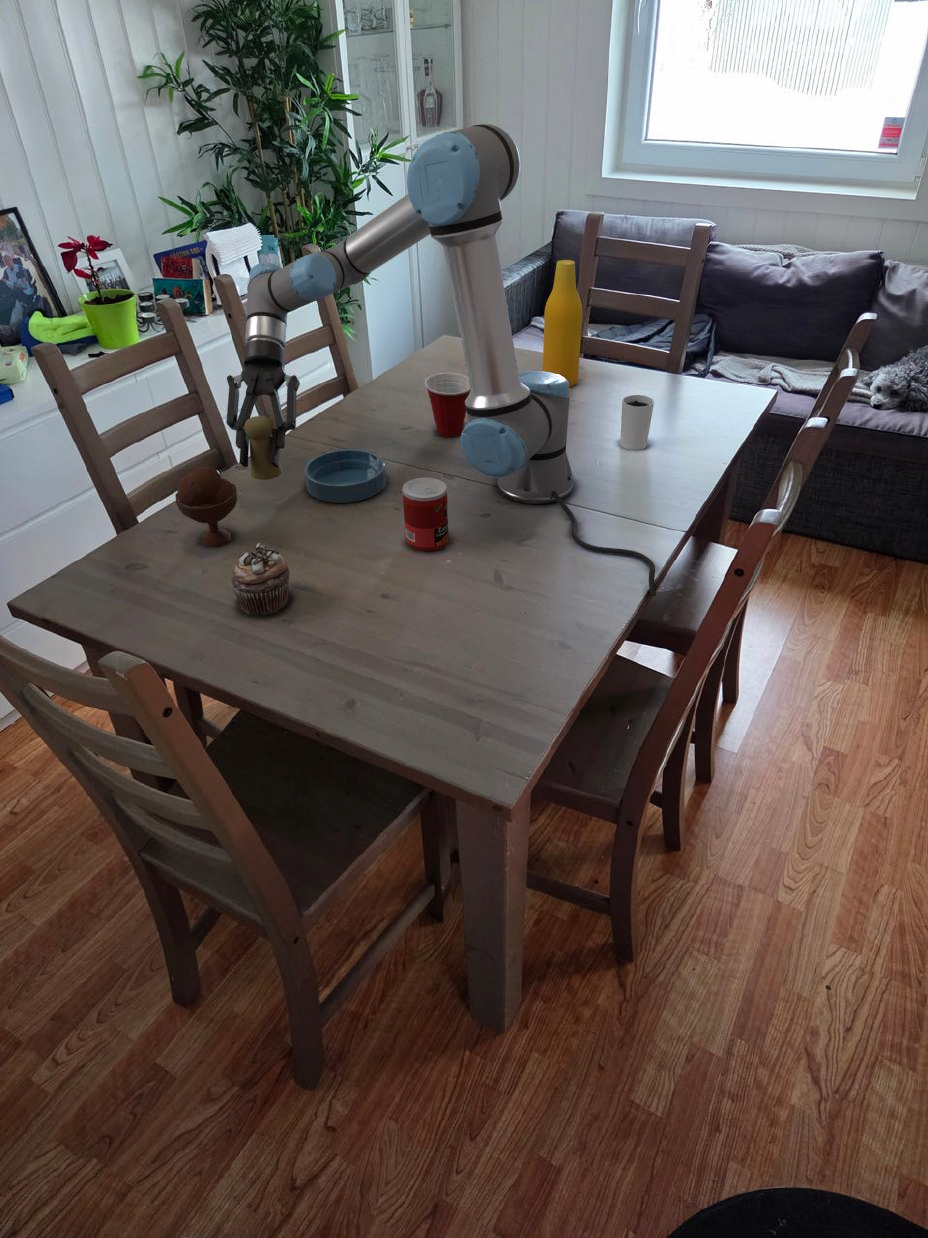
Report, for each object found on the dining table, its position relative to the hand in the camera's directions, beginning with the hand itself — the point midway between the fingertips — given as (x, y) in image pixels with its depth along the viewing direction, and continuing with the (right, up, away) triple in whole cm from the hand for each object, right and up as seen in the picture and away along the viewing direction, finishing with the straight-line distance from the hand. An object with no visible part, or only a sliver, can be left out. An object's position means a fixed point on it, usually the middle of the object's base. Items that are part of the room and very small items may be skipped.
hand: (259, 464), depth 156 cm
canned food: (+31, -15, -2) cm, 35 cm away
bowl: (+14, -1, +16) cm, 21 cm away
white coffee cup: (+75, +9, +28) cm, 81 cm away
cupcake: (+5, -26, -17) cm, 31 cm away
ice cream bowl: (-8, -14, 0) cm, 16 cm away
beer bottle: (+63, +32, +58) cm, 91 cm away
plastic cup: (+35, +14, +35) cm, 52 cm away
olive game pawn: (0, -1, +5) cm, 5 cm away
